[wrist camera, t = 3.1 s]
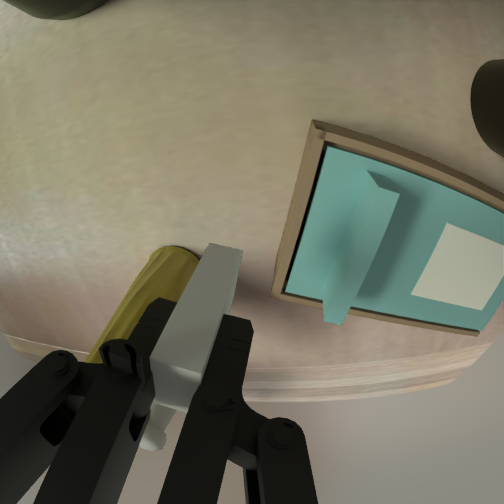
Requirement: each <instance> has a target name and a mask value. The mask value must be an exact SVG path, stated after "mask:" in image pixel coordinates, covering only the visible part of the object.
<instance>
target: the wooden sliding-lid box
mask: <svg viewBox="0 0 504 504" xmlns="http://www.w3.org/2000/svg"><path fill="white" fill-rule="evenodd" d="M327 144H328V145H332V146H335V147H339V148H342V149H346V150H349V151H352V152H356V153H359V154H362V155H365V156H368V157H371V158H375V159H378V160H381V161H384V162H387V163H389V164H392V165H395V166H398V167H401V168H404V169H406V170H409V171H412V172H414V173H417V174H420V175H422V176H425V177H427V178H430V179H432V180H435V181H437V182H440V183H442V184H445V185H447V186H449V187H452V188H454V189H456V190H459V191H461V192H463V193H465V194H467V195H470V196H472V197H474V198H476V199H478V200H480V201H482V202H485V203H487V204H489V205H491V206H493V207H495V208H497V209H499V210H501V211H503V212H504V194H502V193H500V192H498V191H497V190H495V189H493V188H491V187H489V186H487V185H485V184H483V183H481V182H479V181H477V180H475V179H473V178H471V177H469V176H467V175H465V174H463V173H461V172H459V171H457V170H454V169H452V168H450V167H448V166H446V165H443V164H441V163H439V162H436V161H434V160H432V159H429V158H427V157H424V156H422V155H419V154H417V153H414V152H412V151H409V150H407V149H404V148H401V147H399V146H396V145H393V144H390V143H388V142H385V141H382V140H379V139H376V138H373V137H370V136H367V135H364V134H361V133H358V132H354V131H351V130H348V129H345V128H341V127H338V126H334V125H331V124H327V123H323V122H319V121H316V120H312V121H311V125H310V129H309V133H308V137H307V141H306V145H305V149H304V154H303V158H302V162H301V166H300V170H299V174H298V178H297V182H296V185H295V189H294V193H293V197H292V201H291V205H290V209H289V213H288V217H287V220H286V224H285V228H284V232H283V236H282V239H281V243H280V247H279V251H278V254H277V258H276V264H275V271H274V277H273V284H272V291H271V298H275V299H280V300H284V301H289V302H293V303H298V304H302V305H307V306H311V307H316V308H321V309H323V300H320V299H315V298H311V297H306V296H302V295H297V294H293V293H288V292H285V290H286V284H287V281H288V278H289V274H290V271H291V268H292V265H293V262H294V258H295V255H296V252H297V249H298V245H299V242H300V239H301V235H302V232H303V229H304V225H305V222H306V218H307V215H308V211H309V208H310V205H311V201H312V198H313V194H314V190H315V187H316V183H317V180H318V176H319V172H320V169H321V165H322V161H323V158H324V154H325V150H326V146H327ZM347 314H350V315H355V316H360V317H365V318H371V319H376V320H381V321H386V322H392V323H397V324H403V325H408V326H414V327H420V328H426V329H432V330H438V331H444V332H450V333H456V334H463V335H470V336H476V337H477V336H478V335H479V334H480V332H479V330H476V329H470V328H464V327H458V326H452V325H446V324H441V323H435V322H430V321H424V320H419V319H414V318H408V317H403V316H398V315H393V314H388V313H383V312H378V311H373V310H368V309H363V308H358V307H353V306H351V307H350V309H349V311H348V313H347Z"/></svg>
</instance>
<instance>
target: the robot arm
mask: <svg viewBox="0 0 504 504" xmlns="http://www.w3.org/2000/svg"><path fill="white" fill-rule="evenodd" d="M3 1H5V2H7V3H9V4H11V5H13V6H15V7H16V8H18V9H20V10H22V11H24V12H26V13H27V14H29V15H31V16H33V17H36V18H40V19H52V20H67V19H71V18H75V17H78V16H81V15H83V14H85V13H87V12H89V11H91V10H93V9H95V8H97V7H98V6H100V5H101V4H103V3H104V2H106V1H107V0H3ZM242 253H243V250H238V249H234V248H230V247H226V246H221V245H217V244H213V243H209V245H208V247H207V248H206V250H205V252H204V254H203V256H202V258H201V259H200V261H199V263H198V265H197V267H196V269H195V271H194V272H193V274H192V276H191V278H190V280H189V282H188V284H187V286H186V287H185V289H184V291H183V293H182V295H181V297H180V299H179V301H178V302H174V301H171V300H167V299H164V298H160V297H158V298H157V299H156V300H154V301H153V302H151V303H150V304H149V305H148V306H147V308H146V309H145V311H144V313H143V315H142V316H141V318H140V319H139V321H138V324H136V326H135V328H134V329H133V331H132V333H131V334H130V336H129V338H128V339H127V340H126V339H120V338H119V339H111V340H109V341H107V342H105V343H103V344H102V345H101V346H100V347H99V348H98V349H99V352H100V355H101V359H102V362H103V363H87V362H78V361H77V359H76V357H75V356H74V355H73V354H72V353H70V352H68V351H64V350H57V351H53V352H51V353H50V354H48V355H47V356H45V357H44V358H43V359H42V360H41V361H40V362H39V363H38V364H37V365H36V366H34V367H33V368H32V369H31V370H30V371H29V372H28V373H27V374H26V375H25V376H24V377H23V378H22V379H21V380H19V381H18V382H17V383H16V384H15V385H14V386H13V387H12V388H11V389H10V390H9V391H8V392H7V393H6V394H5V395H4V396H3V397H2V398H1V399H0V504H17V502H18V501H19V500H20V499H21V498H22V497H23V496H24V494H25V493H26V492H27V491H28V490H29V489H30V487H31V486H32V485H33V484H34V483H35V482H36V481H37V479H38V478H39V477H40V476H41V475H42V474H43V473H44V471H45V470H46V469H47V468H48V467H49V466H50V467H49V469H48V472H47V474H46V476H45V478H44V480H43V483H42V485H41V487H40V489H39V492H38V494H37V496H36V499H35V501H34V503H33V504H117V502H118V499H119V497H120V494H121V491H122V488H123V486H124V483H125V481H126V478H127V475H128V473H129V470H130V467H131V465H132V462H133V460H134V457H135V454H136V452H137V449H138V447H139V444H140V442H141V439H142V436H143V434H144V431H145V429H146V426H147V424H148V421H149V419H150V415H151V409H150V407H151V404H152V402H153V400H154V397H155V402H156V403H157V404H160V405H163V406H166V407H169V408H173V409H176V410H179V411H182V412H186V413H187V415H186V418H185V421H184V424H183V427H182V430H181V433H180V436H179V439H178V442H177V445H176V448H175V451H174V454H173V457H172V460H171V463H170V466H169V469H168V472H167V475H166V478H165V481H164V485H163V488H162V491H161V494H160V497H159V500H158V503H157V504H217V500H218V496H219V492H220V488H221V483H222V479H223V474H224V471H225V466H226V462H227V459H228V460H230V461H232V462H234V463H235V464H237V465H239V466H241V467H243V476H244V487H245V497H246V504H318V501H317V496H316V490H315V485H314V480H313V475H312V470H311V465H310V460H309V455H308V450H307V445H306V440H305V435H304V433H303V431H302V428H301V427H300V426H299V425H297V423H296V422H294V421H292V420H290V419H288V418H280V417H277V418H273V419H268V418H266V417H264V416H262V415H260V414H258V413H256V412H255V411H254V410H252V409H251V408H250V407H249V406H248V405H247V404H246V402H245V401H244V399H243V395H242V385H243V381H244V376H245V371H246V366H247V362H248V357H249V352H250V347H251V342H252V337H253V333H254V331H253V328H252V324H251V321H250V320H247V319H243V318H239V317H235V316H231V315H229V311H230V308H231V305H232V302H233V299H234V294H235V289H236V284H237V278H238V273H239V268H240V263H241V258H242Z"/></svg>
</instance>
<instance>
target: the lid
mask: <svg viewBox="0 0 504 504" xmlns="http://www.w3.org/2000/svg"><path fill="white" fill-rule="evenodd" d="M285 292H288V293H293V294H297V295H302V296H306V297H311V298H315V299H320V300H323V316H324V322H328V323H333V324H338V325H342V323H343V321H344V319H345V317H346V315H347V313H348V311H349V309H350V307H351V306H353V307H358V308H363V309H368V310H373V311H378V312H383V313H388V314H393V315H398V316H403V317H408V318H414V319H419V320H424V321H430V322H435V323H441V324H446V325H452V326H458V327H464V328H470V329H476V330H483V328H484V327H485V325H486V324H487V323H488V321H489V320H490V319H491V317H492V316H493V314H494V313H495V311H496V310H497V308H498V307H499V305H500V304H501V302H502V301H503V299H504V212H503V211H501V210H499V209H497V208H495V207H493V206H491V205H489V204H487V203H485V202H482V201H480V200H478V199H476V198H474V197H472V196H470V195H467V194H465V193H463V192H461V191H459V190H456V189H454V188H452V187H449V186H447V185H445V184H442V183H440V182H437V181H435V180H432V179H430V178H427V177H425V176H422V175H420V174H417V173H414V172H412V171H409V170H406V169H404V168H401V167H398V166H395V165H392V164H389V163H387V162H384V161H381V160H378V159H375V158H371V157H368V156H365V155H362V154H359V153H356V152H352V151H349V150H346V149H342V148H339V147H335V146H332V145H328V144H327V146H326V150H325V154H324V158H323V161H322V165H321V169H320V172H319V176H318V180H317V183H316V187H315V190H314V194H313V198H312V201H311V205H310V208H309V211H308V215H307V218H306V222H305V225H304V229H303V232H302V235H301V239H300V242H299V245H298V249H297V252H296V255H295V258H294V262H293V265H292V268H291V271H290V274H289V278H288V281H287V284H286V290H285Z"/></svg>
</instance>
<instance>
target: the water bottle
mask: <svg viewBox="0 0 504 504" xmlns="http://www.w3.org/2000/svg"><path fill="white" fill-rule="evenodd" d="M471 110H472V116H473V119H474V123H475V126H476V128H477V130H478V132H479V134H480V136H481V138H482V139H483V141H484V142H485V143H486V144H487V146H488V147H489V148H491V149H492V150H493V151H495V152H496V153H498V154H500V155H501V156H503V157H504V59H500V60H491V61H488V62H486V63H485V64H483V65H482V66H481V67H480V68H479V70H478V71H477V73H476V75H475V77H474V80H473V83H472V88H471Z"/></svg>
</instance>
